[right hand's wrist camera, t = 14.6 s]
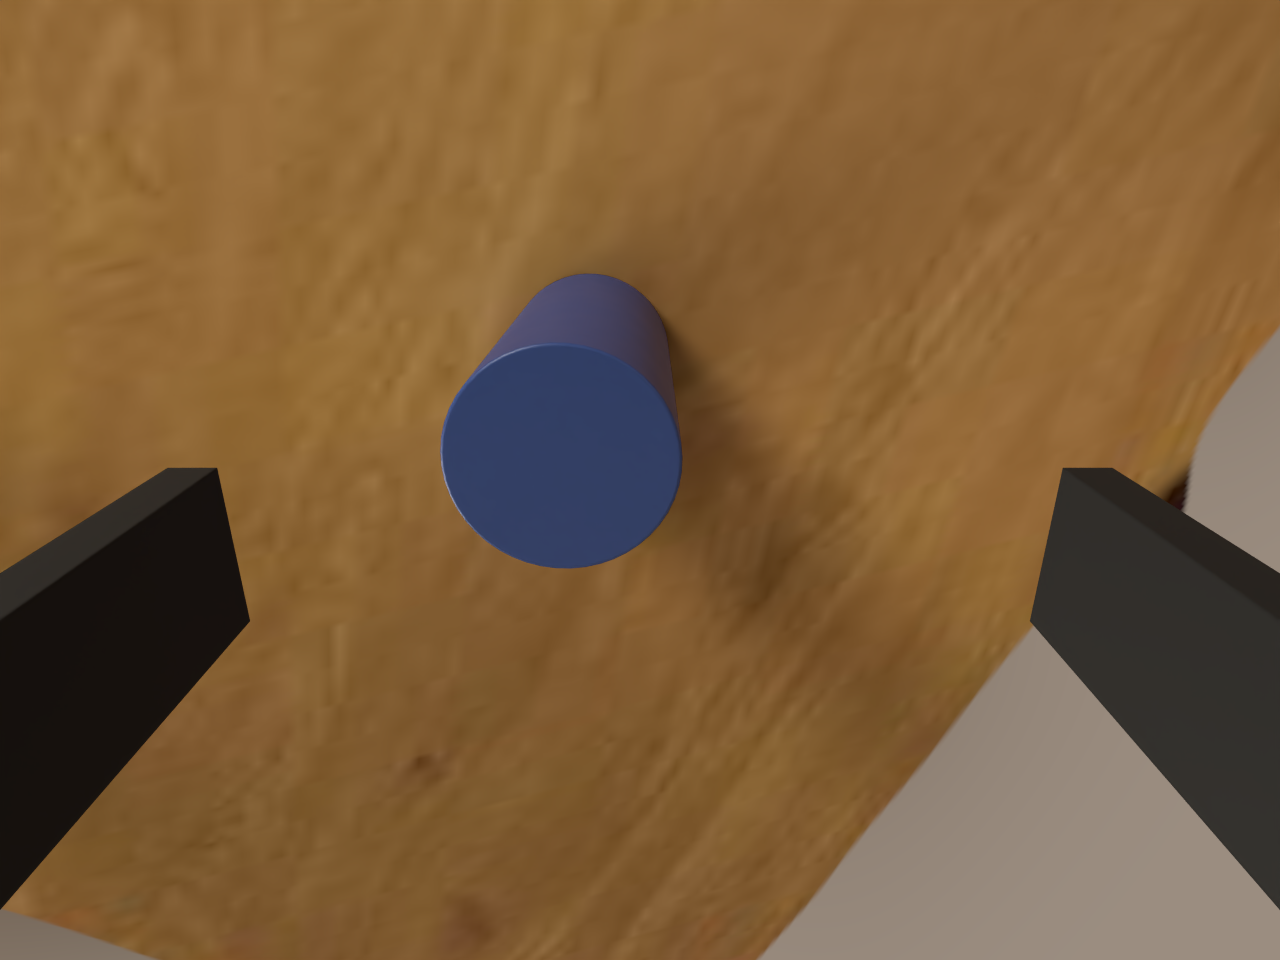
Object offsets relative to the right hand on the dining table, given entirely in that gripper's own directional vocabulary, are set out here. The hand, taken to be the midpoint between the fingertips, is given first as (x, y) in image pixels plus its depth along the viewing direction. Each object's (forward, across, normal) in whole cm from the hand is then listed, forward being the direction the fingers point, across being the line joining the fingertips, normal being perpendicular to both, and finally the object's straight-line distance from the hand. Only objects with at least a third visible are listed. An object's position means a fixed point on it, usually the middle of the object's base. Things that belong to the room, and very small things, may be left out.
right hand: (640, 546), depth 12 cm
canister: (+17, -2, -1) cm, 17 cm away
